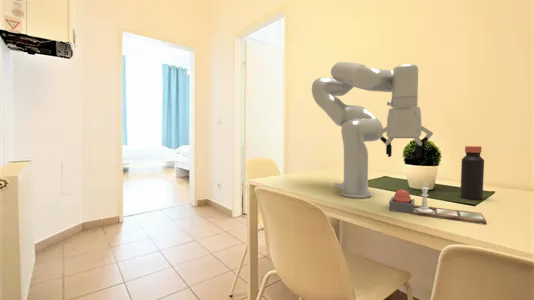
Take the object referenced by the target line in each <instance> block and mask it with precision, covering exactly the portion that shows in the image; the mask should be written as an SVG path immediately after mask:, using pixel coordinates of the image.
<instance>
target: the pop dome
mask: <svg viewBox="0 0 534 300" xmlns="http://www.w3.org/2000/svg"><path fill="white" fill-rule="evenodd" d="M393 197H394V202H402V203H411V199H412V197H411V194H410V193H409V191H407V190H406V189H398V190H396V191H395V192H394V195H393Z"/></svg>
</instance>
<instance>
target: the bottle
mask: <svg viewBox="0 0 534 300" xmlns="http://www.w3.org/2000/svg"><path fill="white" fill-rule="evenodd" d="M464 152H465V156H463V157H462V159H461V165H460V166H461V168H460V169H461V171H460V177H461V178H460V197H461V198H463V199H466V200H472V199H473V201H474V200H475V201H479V200H482V199H483V197H484V195H483V193H484V175H485V159H484V158H483V157H482V156H481V154H482V146H478V145H477V146H476V145H474V146H473V145H471V146H470V145H466V146H465V149H464Z"/></svg>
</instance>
